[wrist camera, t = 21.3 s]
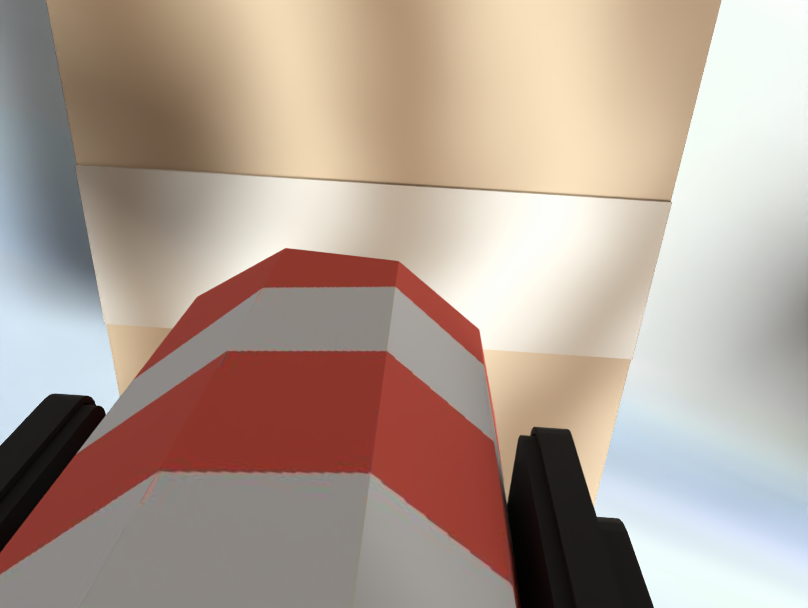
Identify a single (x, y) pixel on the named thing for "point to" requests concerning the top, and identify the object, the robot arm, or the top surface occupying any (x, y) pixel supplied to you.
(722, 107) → the top surface
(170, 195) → the lid
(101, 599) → the beverage can
